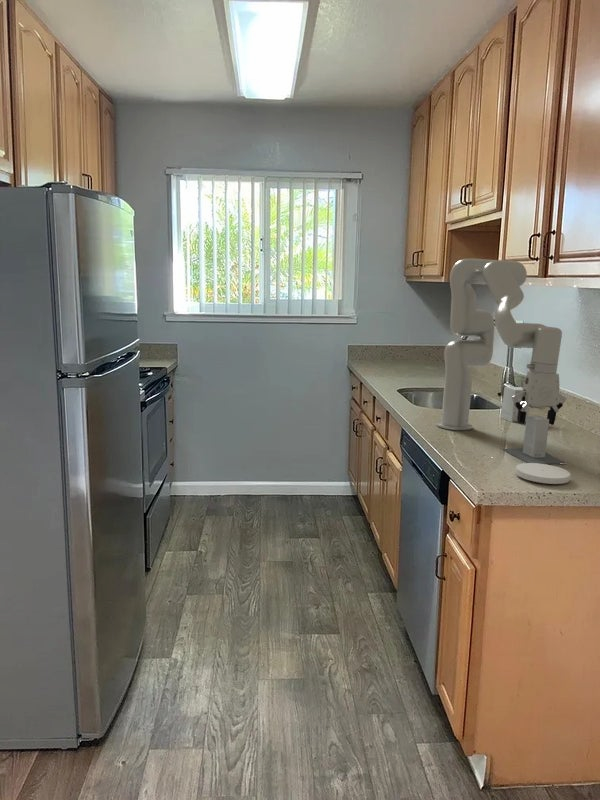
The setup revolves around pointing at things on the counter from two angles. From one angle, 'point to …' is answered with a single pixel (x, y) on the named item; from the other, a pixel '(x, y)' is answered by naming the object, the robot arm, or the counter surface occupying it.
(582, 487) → the counter surface
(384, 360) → the counter surface
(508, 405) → the supplement box
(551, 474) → the plastic lid
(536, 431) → the skincare box
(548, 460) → the mat
